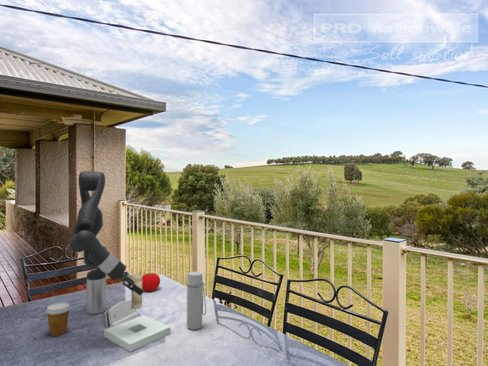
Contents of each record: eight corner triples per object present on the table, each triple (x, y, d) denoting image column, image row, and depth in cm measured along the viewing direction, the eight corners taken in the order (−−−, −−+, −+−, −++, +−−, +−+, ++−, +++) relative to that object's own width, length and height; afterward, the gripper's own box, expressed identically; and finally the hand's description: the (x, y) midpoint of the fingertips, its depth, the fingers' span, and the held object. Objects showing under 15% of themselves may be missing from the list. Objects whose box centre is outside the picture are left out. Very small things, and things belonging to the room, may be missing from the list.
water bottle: (189, 332, 147) (189, 276, 147) (184, 325, 154) (184, 272, 153) (208, 328, 151) (209, 274, 151) (202, 321, 158) (203, 269, 158)
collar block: (104, 336, 142) (104, 329, 142) (143, 321, 158) (143, 315, 158) (130, 351, 130) (130, 344, 130) (170, 333, 145) (170, 326, 145)
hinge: (114, 329, 149) (108, 307, 150) (106, 331, 151) (101, 309, 152) (140, 316, 164) (134, 296, 165) (133, 317, 166) (128, 298, 167)
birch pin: (129, 307, 143) (129, 275, 143) (138, 304, 147) (138, 273, 147) (135, 309, 140) (135, 277, 140) (144, 306, 144) (144, 274, 144)
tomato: (136, 292, 198) (136, 275, 198) (145, 286, 210) (145, 270, 210) (154, 293, 196) (155, 276, 196) (162, 287, 208) (162, 271, 208)
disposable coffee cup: (75, 329, 149) (75, 303, 148) (57, 339, 140) (57, 311, 139) (59, 326, 152) (59, 300, 152) (40, 335, 143) (40, 308, 143)
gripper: (118, 264, 134) (149, 290, 138) (118, 256, 147) (146, 280, 152) (104, 278, 132) (136, 304, 137) (105, 269, 146) (134, 293, 150)
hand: (141, 291), depth 144 cm, fingers closed on birch pin, 4 cm apart
